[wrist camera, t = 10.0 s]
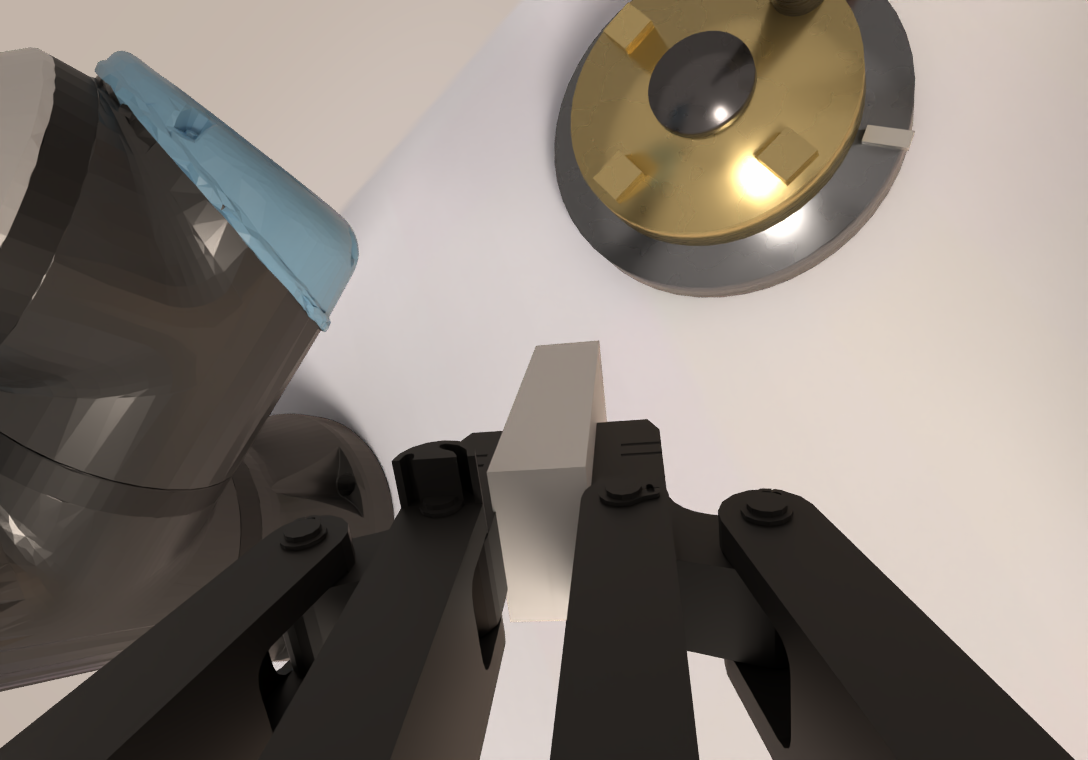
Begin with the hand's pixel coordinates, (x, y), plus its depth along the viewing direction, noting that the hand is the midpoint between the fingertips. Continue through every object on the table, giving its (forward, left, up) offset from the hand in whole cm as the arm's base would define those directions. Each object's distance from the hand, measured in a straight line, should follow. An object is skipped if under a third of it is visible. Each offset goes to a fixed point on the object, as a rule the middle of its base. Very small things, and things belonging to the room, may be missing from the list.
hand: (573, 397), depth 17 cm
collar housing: (-5, +16, -20) cm, 27 cm away
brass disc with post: (-5, +16, -18) cm, 25 cm away
